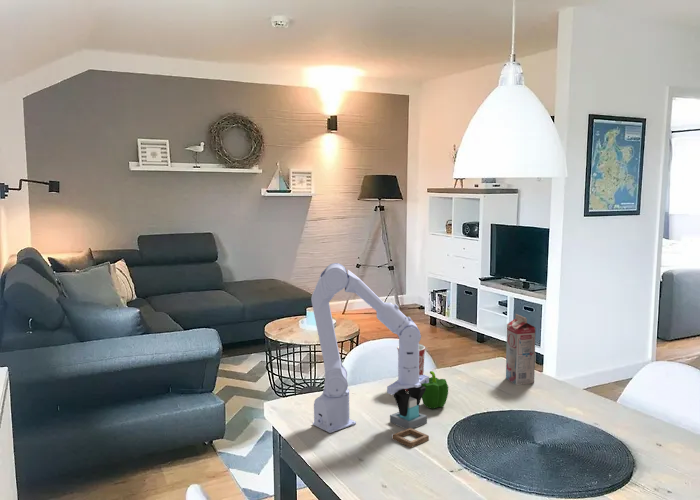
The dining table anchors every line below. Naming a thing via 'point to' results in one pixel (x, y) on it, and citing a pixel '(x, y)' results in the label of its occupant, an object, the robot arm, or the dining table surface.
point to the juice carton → (520, 351)
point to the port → (407, 424)
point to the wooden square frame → (412, 443)
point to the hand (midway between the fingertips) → (408, 413)
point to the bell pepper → (435, 392)
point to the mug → (420, 360)
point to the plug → (412, 410)
